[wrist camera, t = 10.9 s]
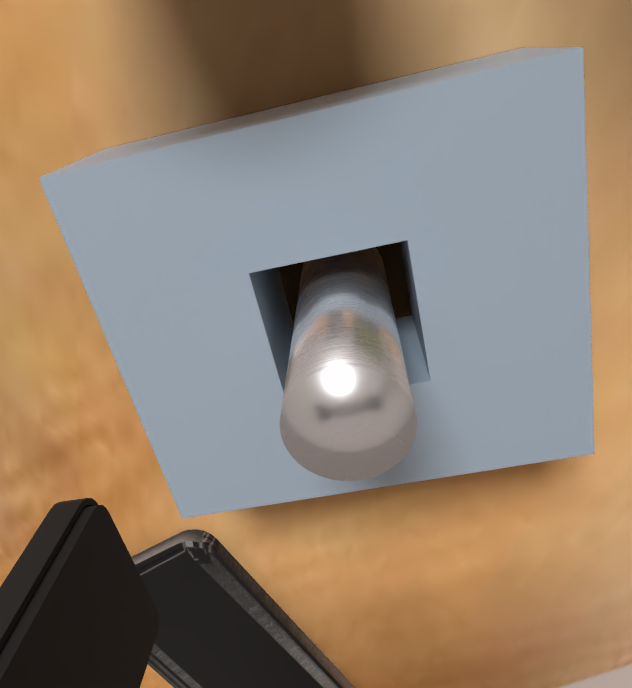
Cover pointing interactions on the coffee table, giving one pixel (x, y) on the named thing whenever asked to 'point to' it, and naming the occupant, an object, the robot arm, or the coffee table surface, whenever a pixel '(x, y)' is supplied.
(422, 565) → the coffee table surface
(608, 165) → the coffee table surface
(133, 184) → the hole block
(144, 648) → the robot arm
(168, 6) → the coffee table surface
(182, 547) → the phone
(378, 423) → the pin
